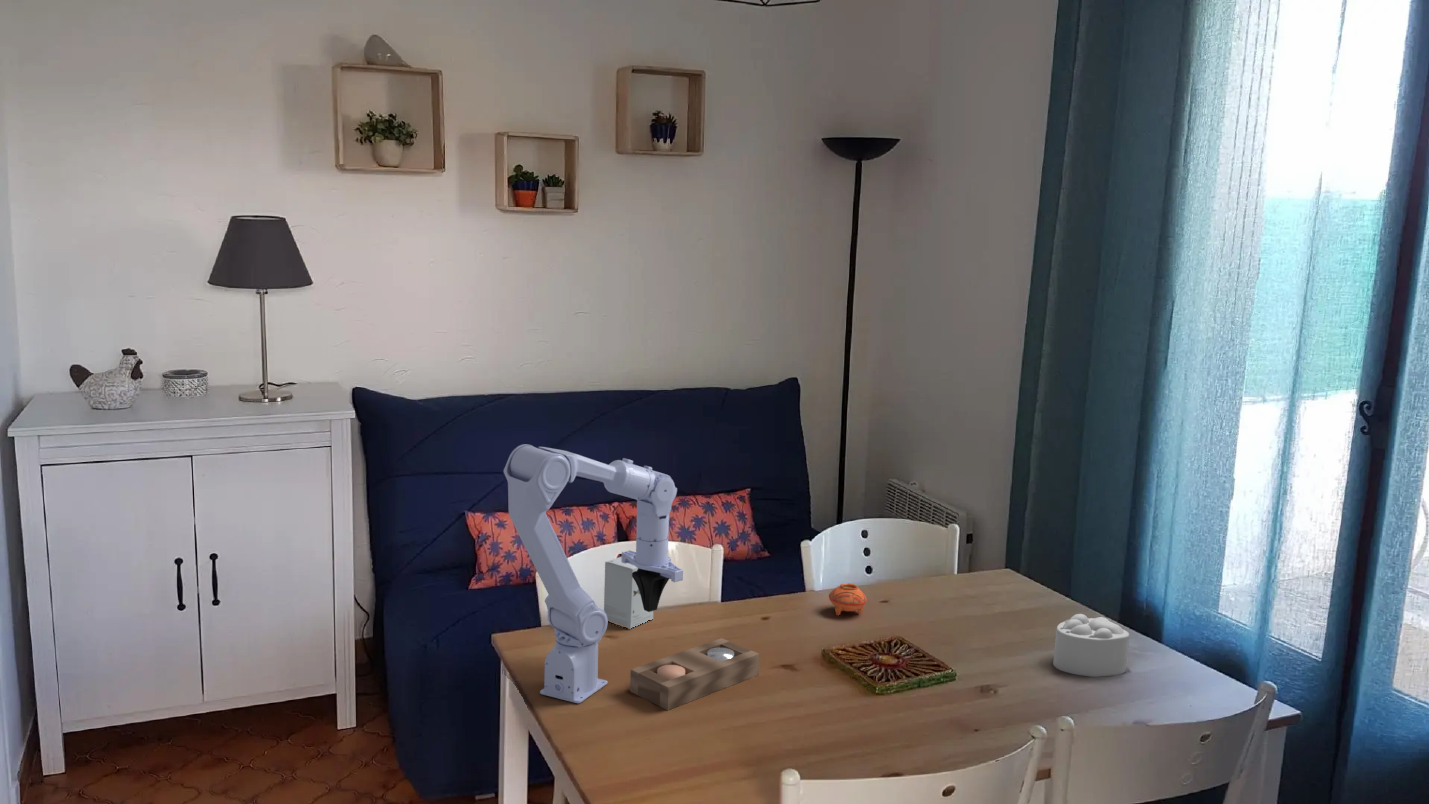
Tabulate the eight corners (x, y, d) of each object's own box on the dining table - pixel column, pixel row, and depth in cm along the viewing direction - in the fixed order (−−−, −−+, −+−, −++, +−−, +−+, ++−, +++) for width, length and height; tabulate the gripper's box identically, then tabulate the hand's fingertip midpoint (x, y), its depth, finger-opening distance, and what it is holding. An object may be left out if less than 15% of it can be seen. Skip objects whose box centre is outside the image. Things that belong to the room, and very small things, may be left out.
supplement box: (630, 630, 216) (631, 569, 214) (602, 621, 220) (603, 560, 218) (654, 620, 221) (656, 560, 219) (627, 611, 226) (628, 552, 224)
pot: (819, 607, 232) (827, 576, 231) (851, 612, 234) (859, 582, 234) (834, 619, 224) (843, 587, 224) (868, 624, 227) (876, 593, 226)
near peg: (669, 700, 185) (670, 678, 184) (650, 691, 188) (651, 669, 188) (690, 692, 188) (691, 671, 188) (671, 683, 192) (672, 662, 191)
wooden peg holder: (667, 710, 181) (668, 687, 181) (630, 691, 188) (630, 669, 187) (758, 674, 197) (759, 653, 196) (720, 658, 203) (721, 638, 203)
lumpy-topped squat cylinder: (1133, 673, 203) (1138, 629, 202) (1072, 679, 200) (1076, 634, 198) (1099, 651, 213) (1103, 609, 212) (1040, 657, 210) (1044, 614, 208)
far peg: (720, 681, 193) (720, 660, 193) (701, 672, 197) (701, 652, 196) (739, 674, 197) (739, 653, 196) (720, 665, 200) (720, 645, 199)
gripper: (696, 542, 193) (694, 615, 196) (642, 524, 204) (640, 594, 206) (666, 549, 189) (664, 625, 191) (613, 531, 199) (611, 602, 201)
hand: (650, 609), depth 198 cm, fingers closed
